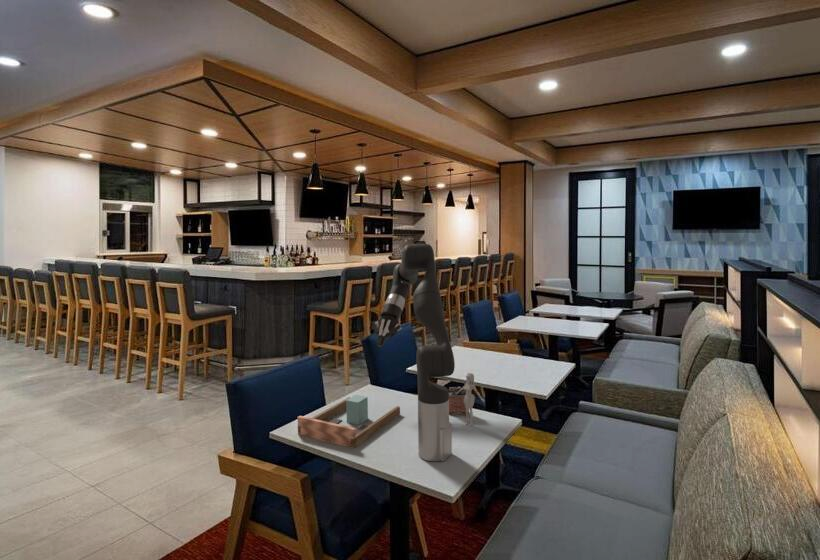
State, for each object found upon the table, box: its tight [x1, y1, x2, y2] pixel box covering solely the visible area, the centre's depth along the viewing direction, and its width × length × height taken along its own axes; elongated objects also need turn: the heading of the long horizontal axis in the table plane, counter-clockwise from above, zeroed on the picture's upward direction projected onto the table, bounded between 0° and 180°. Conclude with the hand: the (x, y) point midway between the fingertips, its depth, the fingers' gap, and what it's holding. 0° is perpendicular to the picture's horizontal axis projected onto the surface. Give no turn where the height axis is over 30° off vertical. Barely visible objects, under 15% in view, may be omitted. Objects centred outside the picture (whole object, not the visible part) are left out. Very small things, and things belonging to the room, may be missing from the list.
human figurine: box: [455, 372, 486, 428], centre depth 159 cm, size 12×4×18 cm, turn 47°
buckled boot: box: [448, 386, 466, 417], centre depth 169 cm, size 8×3×10 cm, turn 84°
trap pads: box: [326, 417, 369, 434], centre depth 159 cm, size 18×8×1 cm, turn 62°
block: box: [345, 394, 369, 426], centre depth 164 cm, size 5×6×8 cm
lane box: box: [297, 396, 401, 449], centre depth 161 cm, size 22×29×6 cm
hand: (379, 345), depth 177 cm, fingers closed
